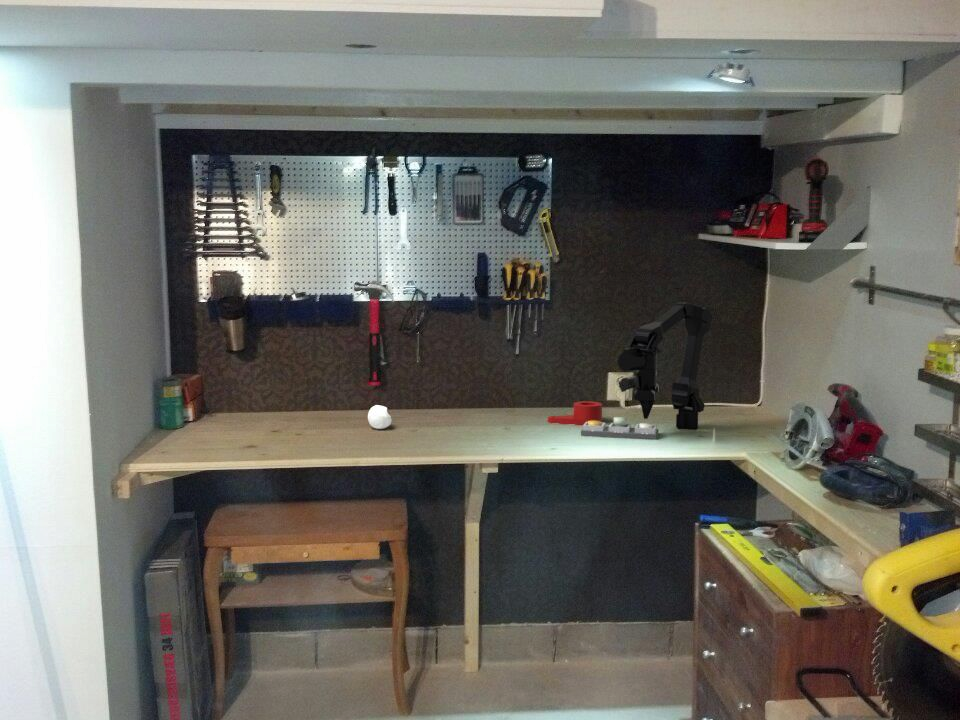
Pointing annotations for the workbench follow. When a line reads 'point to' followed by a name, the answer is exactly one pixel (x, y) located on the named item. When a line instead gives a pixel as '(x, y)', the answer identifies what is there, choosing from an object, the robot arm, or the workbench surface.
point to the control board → (619, 431)
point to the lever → (580, 414)
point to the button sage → (620, 421)
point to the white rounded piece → (379, 417)
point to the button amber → (594, 423)
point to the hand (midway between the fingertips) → (645, 418)
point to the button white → (645, 425)
